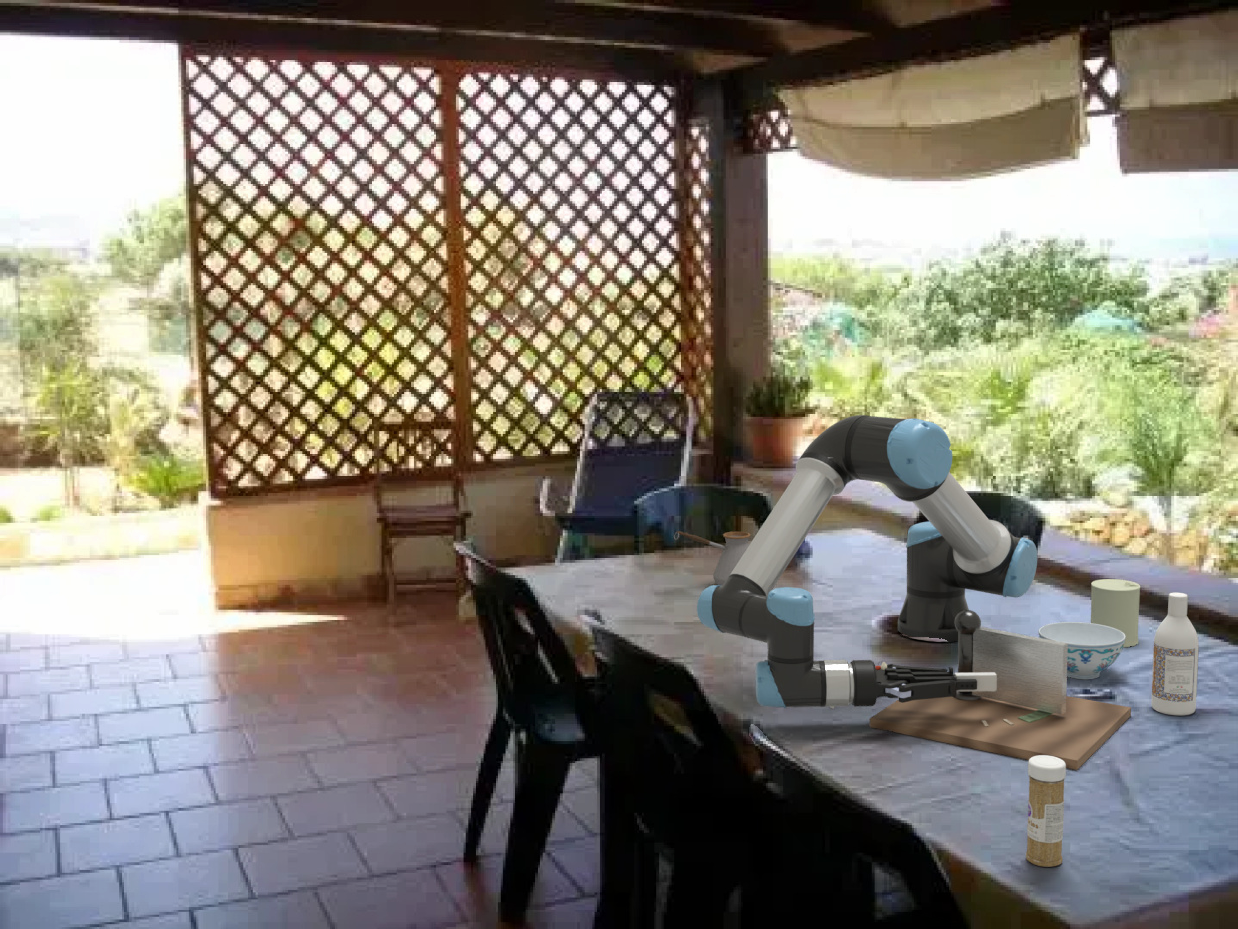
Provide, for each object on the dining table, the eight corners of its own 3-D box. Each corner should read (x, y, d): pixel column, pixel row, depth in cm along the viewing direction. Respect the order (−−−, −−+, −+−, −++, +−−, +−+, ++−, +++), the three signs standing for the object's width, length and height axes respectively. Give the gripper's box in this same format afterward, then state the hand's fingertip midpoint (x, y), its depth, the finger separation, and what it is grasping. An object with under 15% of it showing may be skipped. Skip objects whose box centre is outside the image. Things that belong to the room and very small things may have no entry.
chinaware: (1068, 690, 233) (1070, 648, 232) (1021, 666, 248) (1022, 626, 247) (1141, 681, 237) (1143, 640, 236) (1091, 658, 252) (1092, 618, 250)
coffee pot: (749, 579, 319) (748, 518, 316) (770, 590, 308) (769, 527, 306) (667, 588, 312) (665, 526, 310) (685, 600, 301) (683, 536, 299)
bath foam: (1159, 700, 227) (1163, 587, 224) (1201, 708, 223) (1206, 593, 220) (1145, 711, 222) (1149, 595, 219) (1188, 719, 218) (1193, 602, 215)
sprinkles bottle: (1019, 854, 171) (1021, 755, 169) (1052, 851, 172) (1054, 752, 169) (1036, 870, 166) (1039, 769, 164) (1070, 866, 167) (1073, 765, 165)
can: (1142, 648, 257) (1144, 588, 255) (1092, 646, 259) (1094, 587, 257) (1134, 635, 266) (1136, 577, 264) (1086, 633, 267) (1087, 576, 266)
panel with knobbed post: (948, 692, 227) (949, 611, 225) (961, 685, 230) (962, 605, 228) (1057, 717, 214) (1060, 631, 212) (1069, 710, 217) (1072, 625, 215)
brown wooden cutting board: (869, 727, 218) (869, 716, 218) (938, 681, 240) (938, 671, 240) (1077, 770, 198) (1077, 758, 198) (1130, 716, 220) (1131, 705, 220)
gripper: (844, 692, 223) (985, 690, 222) (855, 719, 210) (1005, 717, 210) (845, 649, 222) (986, 647, 221) (855, 673, 209) (1006, 672, 208)
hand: (995, 681), depth 215 cm, fingers closed
